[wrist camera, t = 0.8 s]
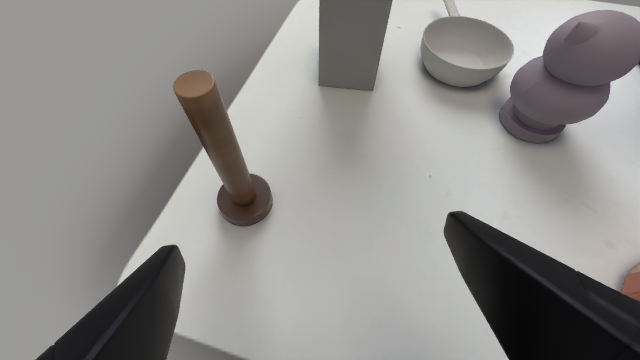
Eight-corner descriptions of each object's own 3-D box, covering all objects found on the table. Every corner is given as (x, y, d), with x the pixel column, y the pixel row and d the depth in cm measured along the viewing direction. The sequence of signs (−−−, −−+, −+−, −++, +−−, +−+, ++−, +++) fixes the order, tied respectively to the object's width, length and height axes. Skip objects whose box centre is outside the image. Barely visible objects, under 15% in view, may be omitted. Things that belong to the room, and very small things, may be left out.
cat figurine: (553, 98, 35) (650, -7, 25) (580, 150, 31) (710, 49, 21) (482, 95, 35) (550, -11, 25) (500, 146, 31) (590, 44, 21)
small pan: (424, 93, 35) (435, 66, 32) (400, 12, 45) (407, -15, 42) (510, 93, 36) (530, 66, 32) (469, 12, 45) (481, -15, 42)
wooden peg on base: (267, 228, 26) (227, 119, 14) (215, 223, 26) (131, 112, 14) (276, 182, 29) (247, 57, 17) (228, 178, 29) (165, 52, 17)
